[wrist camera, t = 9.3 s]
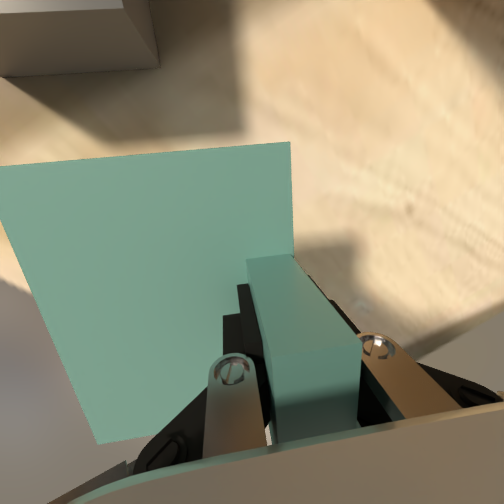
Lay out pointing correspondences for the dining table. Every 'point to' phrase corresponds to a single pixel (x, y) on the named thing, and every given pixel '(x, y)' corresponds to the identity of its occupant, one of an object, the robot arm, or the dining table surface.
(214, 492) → the robot arm
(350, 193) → the dining table surface
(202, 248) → the lid
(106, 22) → the tub
